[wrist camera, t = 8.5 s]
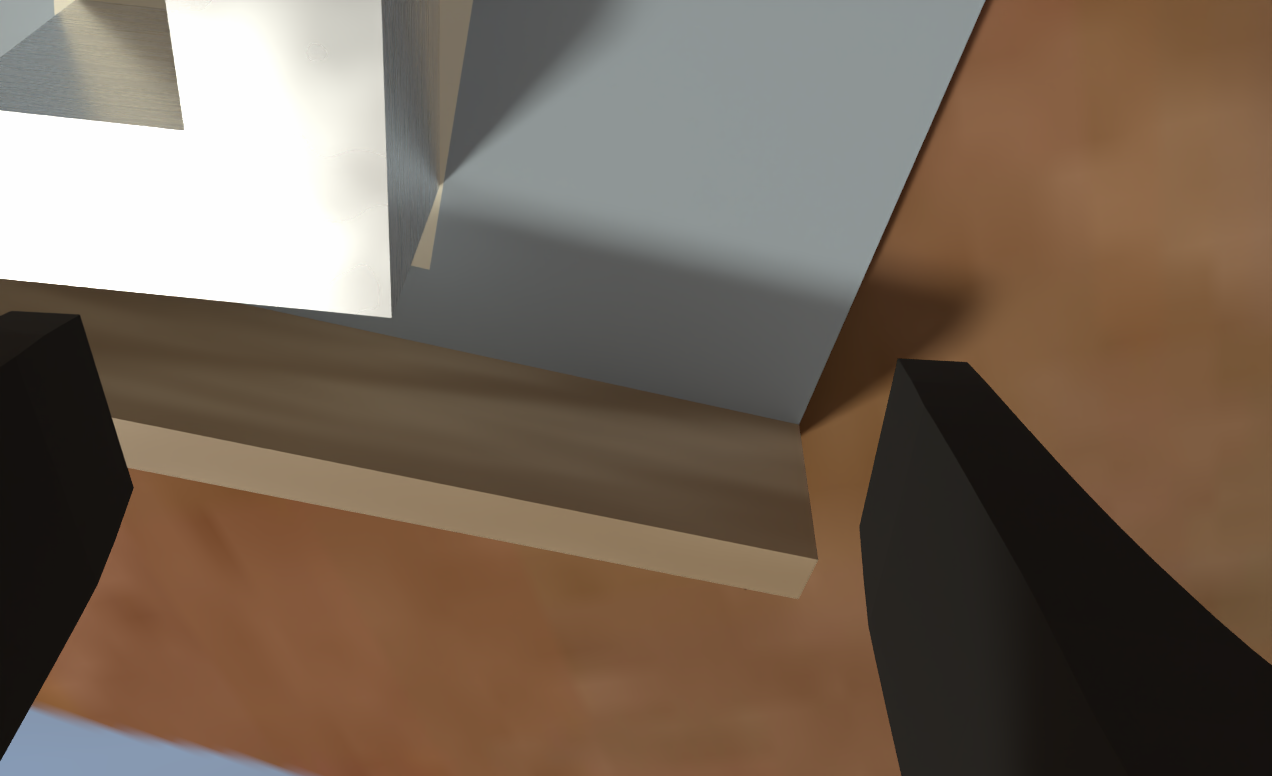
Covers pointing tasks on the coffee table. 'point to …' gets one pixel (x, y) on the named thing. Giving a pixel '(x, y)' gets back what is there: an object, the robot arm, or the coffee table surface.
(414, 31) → the bracket
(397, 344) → the walls
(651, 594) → the coffee table surface
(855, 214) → the board
